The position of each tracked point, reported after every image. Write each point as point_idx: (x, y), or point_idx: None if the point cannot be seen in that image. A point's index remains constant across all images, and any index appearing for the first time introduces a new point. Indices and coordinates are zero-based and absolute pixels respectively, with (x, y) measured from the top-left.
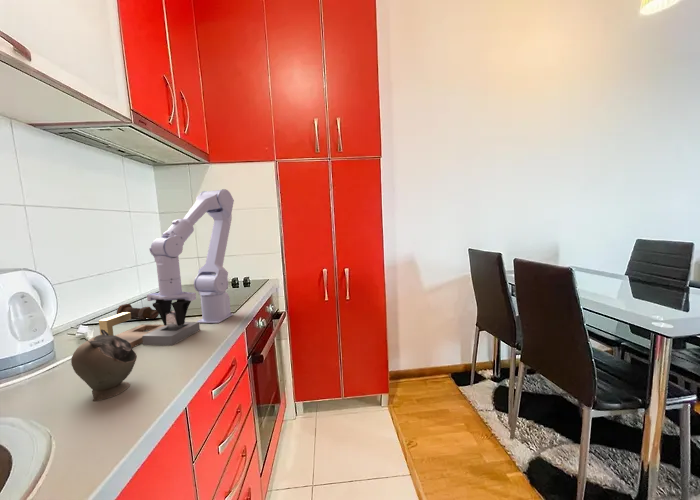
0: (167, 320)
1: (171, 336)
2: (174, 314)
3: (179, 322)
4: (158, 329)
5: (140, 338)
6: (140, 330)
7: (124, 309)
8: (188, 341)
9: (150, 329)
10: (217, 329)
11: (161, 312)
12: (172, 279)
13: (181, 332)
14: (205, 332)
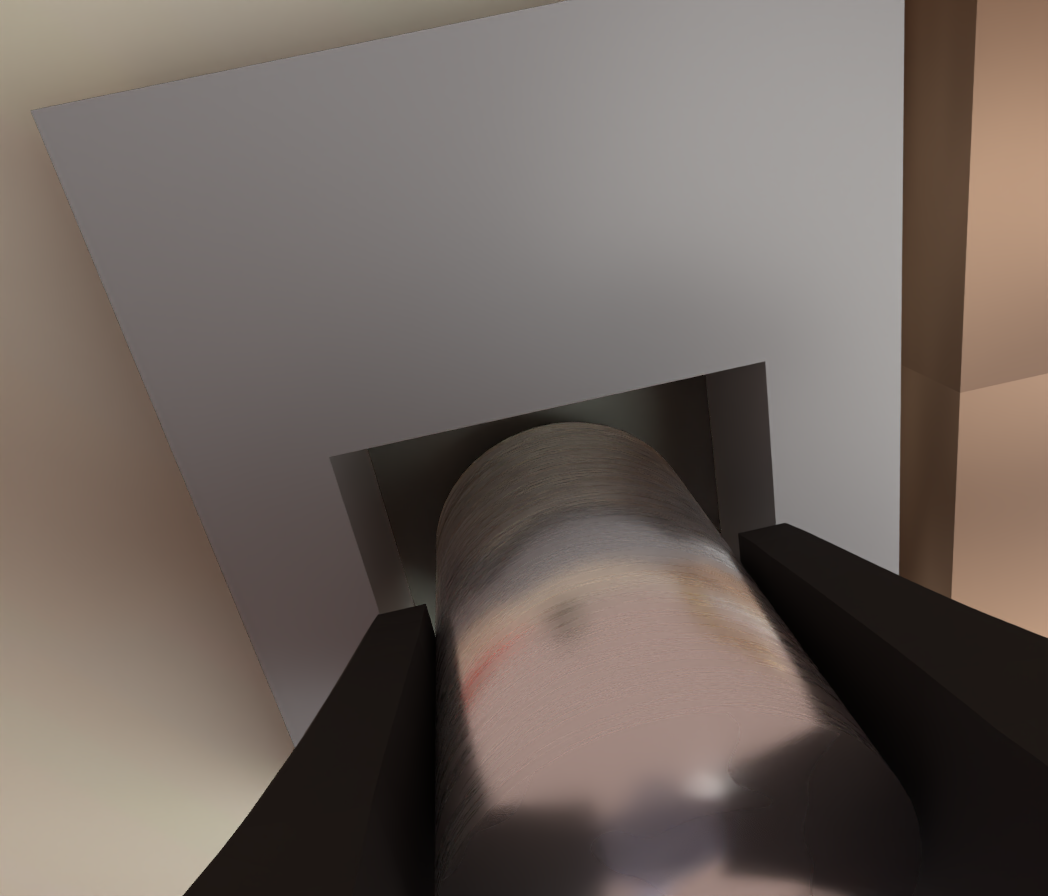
0: (658, 576)
1: (44, 125)
2: (465, 805)
3: (351, 658)
4: (845, 406)
5: (971, 16)
6: None
7: None
8: (21, 376)
9: None
10: (112, 876)
11: (1014, 717)
12: None
13: (188, 457)
14: (174, 747)
